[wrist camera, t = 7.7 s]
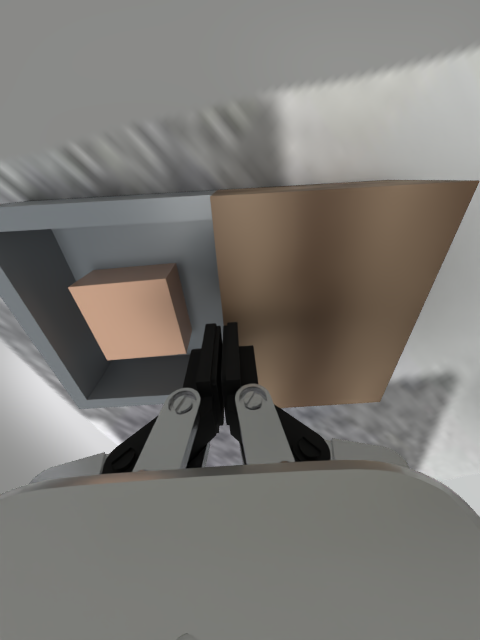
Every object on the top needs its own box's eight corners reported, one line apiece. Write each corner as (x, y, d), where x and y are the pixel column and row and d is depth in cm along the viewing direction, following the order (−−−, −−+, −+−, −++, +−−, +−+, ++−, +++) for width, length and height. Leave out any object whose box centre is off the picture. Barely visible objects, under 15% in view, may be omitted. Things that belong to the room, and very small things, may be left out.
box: (217, 190, 14) (211, 195, 10) (232, 356, 22) (232, 399, 17) (27, 201, 14) (-60, 210, 10) (109, 363, 22) (79, 408, 17)
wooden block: (390, 180, 14) (479, 180, 9) (345, 349, 22) (380, 401, 17) (217, 190, 14) (210, 196, 9) (232, 356, 22) (232, 410, 17)
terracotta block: (67, 287, 14) (93, 270, 16) (107, 360, 17) (123, 336, 19) (165, 278, 13) (176, 262, 16) (186, 353, 17) (192, 330, 19)
